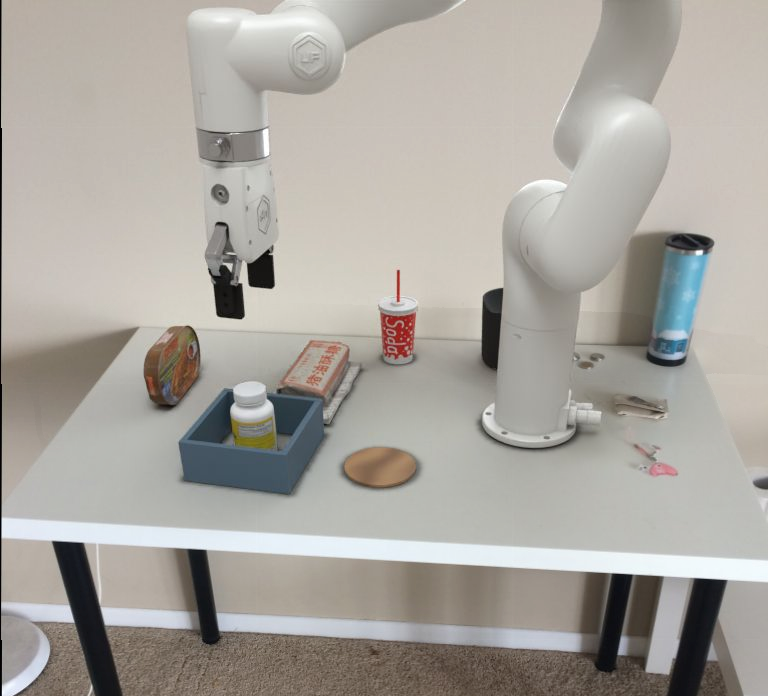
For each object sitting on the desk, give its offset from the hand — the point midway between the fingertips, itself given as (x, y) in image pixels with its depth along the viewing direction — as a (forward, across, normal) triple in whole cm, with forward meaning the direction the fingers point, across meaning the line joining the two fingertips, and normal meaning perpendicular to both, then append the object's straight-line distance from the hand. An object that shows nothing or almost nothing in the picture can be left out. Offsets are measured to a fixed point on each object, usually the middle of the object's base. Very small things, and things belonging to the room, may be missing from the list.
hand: (246, 301), depth 101 cm
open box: (+20, -1, 0) cm, 20 cm away
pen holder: (+20, +35, -28) cm, 49 cm away
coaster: (+20, 0, -16) cm, 26 cm away
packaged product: (+20, +18, -2) cm, 27 cm away
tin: (+21, +14, +18) cm, 31 cm away
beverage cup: (+20, +32, -11) cm, 40 cm away
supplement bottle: (+21, -1, 0) cm, 21 cm away
